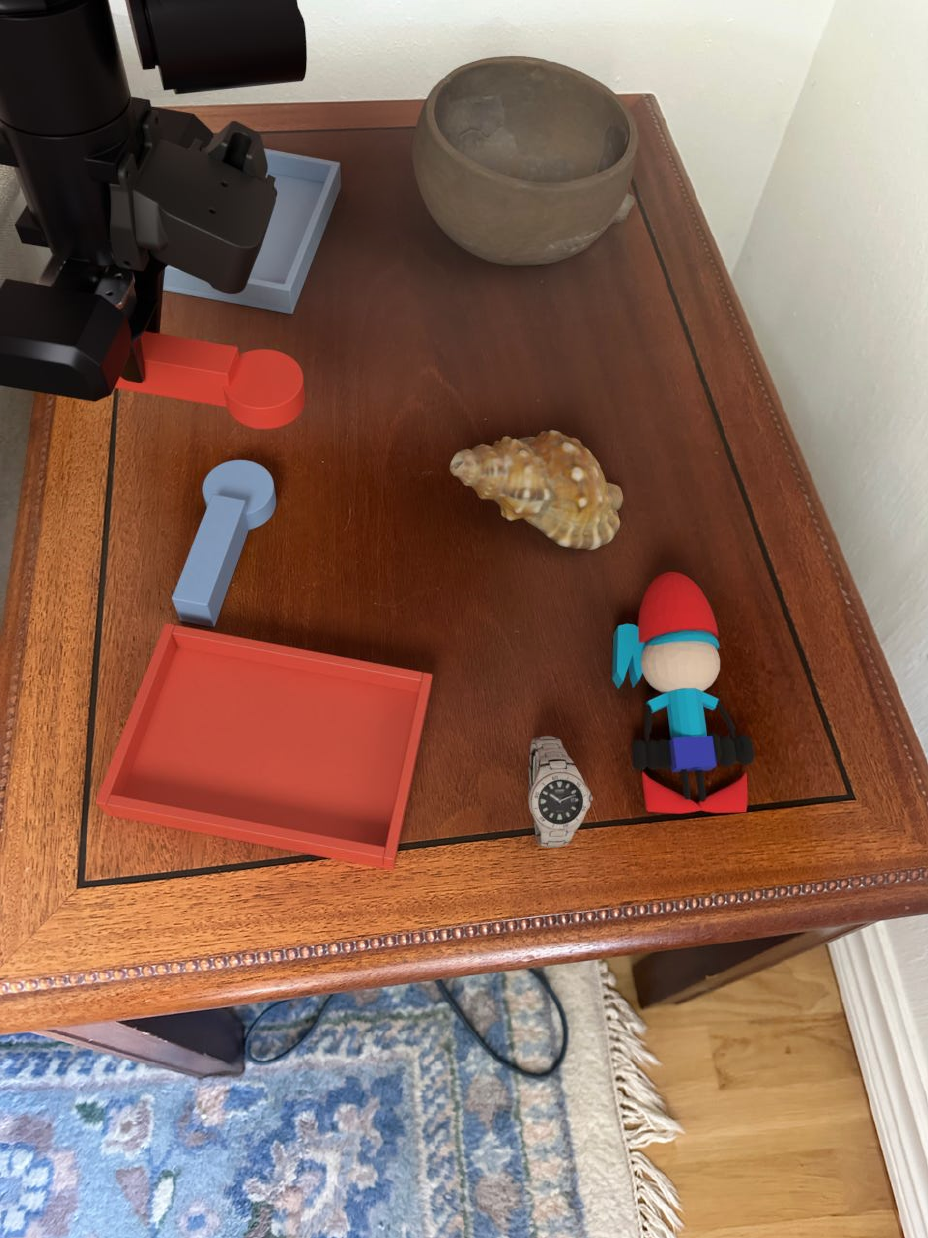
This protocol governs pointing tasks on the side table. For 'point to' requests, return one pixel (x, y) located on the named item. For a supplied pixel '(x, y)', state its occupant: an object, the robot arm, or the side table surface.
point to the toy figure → (680, 695)
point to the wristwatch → (555, 793)
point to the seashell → (545, 487)
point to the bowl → (524, 159)
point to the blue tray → (280, 236)
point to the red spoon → (223, 378)
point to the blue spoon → (222, 537)
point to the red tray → (270, 746)
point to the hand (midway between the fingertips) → (142, 364)
